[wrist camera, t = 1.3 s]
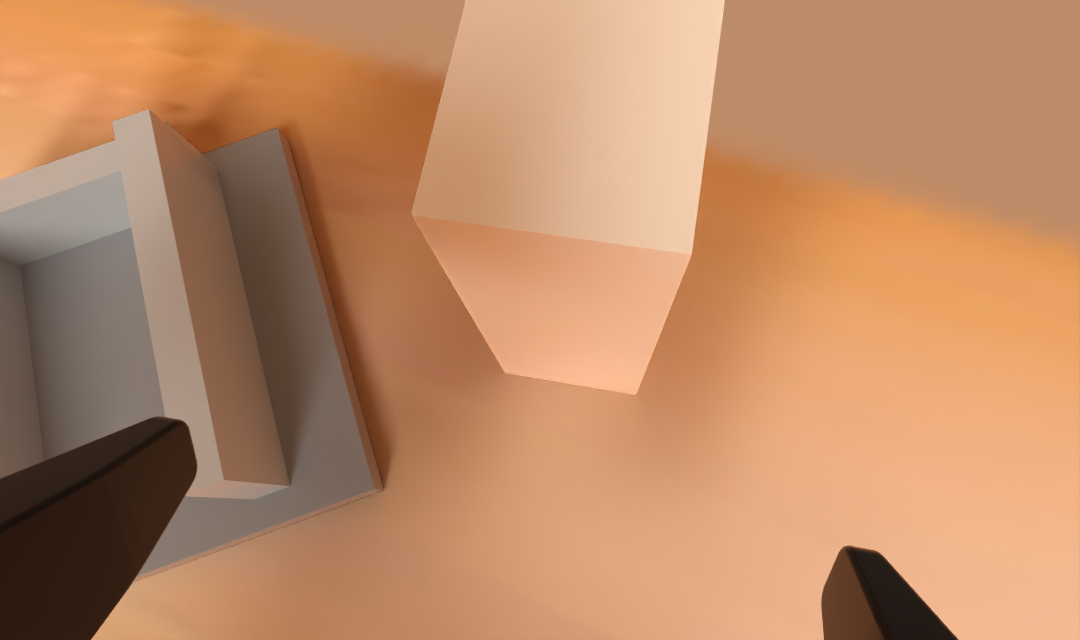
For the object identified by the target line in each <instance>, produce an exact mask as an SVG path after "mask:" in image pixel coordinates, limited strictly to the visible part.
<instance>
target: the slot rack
mask: <svg viewBox="0 0 1080 640" xmlns="http://www.w3.org/2000/svg"><path fill="white" fill-rule="evenodd" d="M112 125H113V130H114V136H115V140H114V141H111V142H108V143H106V144H103V145H100V146H97V147H94V148H91V149H88V150H85V151H82V152H80V153H77V154H74V155H71V156H68V157H65V158H62V159H59V160H56V161H53V162H51V163H48V164H45V165H42V166H39V167H36V168H33V169H30V170H27V171H25V172H22V173H19V174H16V175H13V176H10V177H7V178H4V179H1V180H0V478H3V477H5V476H8V475H10V474H13V473H15V472H17V471H20V470H22V469H25V468H27V467H30V466H32V465H35V464H37V463H40V462H42V461H45V460H47V459H50V458H52V457H55V456H57V455H60V454H62V453H65V452H67V451H70V450H72V449H75V448H77V447H79V446H82V445H84V444H87V443H89V442H92V441H94V440H97V439H99V438H102V437H104V436H107V435H109V434H112V433H114V432H117V431H119V430H122V429H124V428H127V427H129V426H132V425H134V424H137V423H139V422H141V421H144V420H146V419H149V418H152V417H156V416H162V417H168V418H173V419H179V420H182V421H184V422H185V423H186V424H187V425H188V427H189V429H190V433H191V438H192V442H193V446H194V451H195V455H196V459H197V473H196V477H195V479H194V481H193V483H192V485H191V487H190V489H189V490H188V492H187V494H186V495H185V497H184V499H183V500H182V502H181V504H180V505H179V507H178V509H177V510H176V512H175V514H174V516H173V517H172V519H171V521H170V522H169V524H168V526H167V527H166V529H165V531H164V532H163V534H162V536H161V537H160V539H159V541H158V543H157V544H156V546H155V548H154V549H153V551H152V553H151V554H150V556H149V558H148V559H147V561H146V563H145V564H144V566H143V567H142V569H141V570H140V572H139V574H138V575H137V577H136V578H135V580H134V581H133V582H135V581H138V580H140V579H143V578H146V577H149V576H151V575H154V574H157V573H159V572H162V571H165V570H168V569H170V568H173V567H176V566H179V565H181V564H184V563H187V562H189V561H192V560H195V559H198V558H200V557H203V556H206V555H208V554H211V553H214V552H217V551H219V550H222V549H225V548H228V547H230V546H233V545H236V544H238V543H241V542H244V541H247V540H249V539H252V538H255V537H257V536H260V535H263V534H266V533H268V532H271V531H274V530H276V529H279V528H282V527H285V526H287V525H290V524H293V523H296V522H298V521H301V520H304V519H306V518H309V517H312V516H315V515H317V514H320V513H323V512H325V511H328V510H331V509H334V508H336V507H339V506H342V505H345V504H347V503H350V502H353V501H355V500H358V499H361V498H364V497H366V496H369V495H372V494H374V493H377V492H380V491H383V490H384V489H383V485H382V481H381V478H380V474H379V470H378V467H377V463H376V459H375V456H374V452H373V448H372V445H371V441H370V437H369V434H368V430H367V426H366V423H365V419H364V415H363V412H362V408H361V404H360V401H359V397H358V394H357V390H356V386H355V383H354V379H353V375H352V372H351V368H350V364H349V361H348V357H347V353H346V350H345V346H344V342H343V339H342V335H341V331H340V328H339V324H338V320H337V317H336V313H335V309H334V306H333V302H332V298H331V295H330V291H329V287H328V284H327V280H326V277H325V273H324V269H323V266H322V262H321V258H320V255H319V251H318V247H317V244H316V240H315V236H314V233H313V229H312V225H311V222H310V218H309V214H308V211H307V207H306V203H305V200H304V196H303V192H302V189H301V185H300V181H299V178H298V174H297V170H296V167H295V163H294V159H293V156H292V152H291V149H290V145H289V142H288V141H287V139H286V138H285V137H284V136H283V134H282V133H281V132H280V131H279V129H278V128H275V129H272V130H269V131H267V132H264V133H261V134H258V135H255V136H252V137H249V138H246V139H244V140H241V141H238V142H235V143H232V144H229V145H226V146H223V147H221V148H218V149H215V150H212V151H209V152H206V153H203V154H201V153H200V152H199V151H198V150H197V149H196V148H195V147H193V146H192V145H191V144H190V143H189V142H188V141H187V140H186V139H185V138H184V137H183V136H182V135H181V134H179V133H178V132H177V131H176V130H175V129H174V128H173V127H172V126H171V125H170V124H169V123H168V122H166V123H163V122H162V121H161V120H160V119H159V118H158V117H157V116H156V115H155V114H154V113H152V112H151V111H150V110H149V109H148V110H145V111H142V112H139V113H136V114H133V115H130V116H128V117H125V118H122V119H119V120H116V121H113V122H112Z"/></svg>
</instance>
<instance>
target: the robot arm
mask: <svg viewBox="0 0 1080 640" xmlns="http://www.w3.org/2000/svg"><path fill="white" fill-rule="evenodd" d="M196 473H197V459H196V455H195V451H194V446H193V442H192V438H191V433H190V429H189V427H188V425H187V424H186V423H185V422H184V421H182V420H179V419H173V418H168V417H162V416H156V417H152V418H149V419H146V420H144V421H141V422H139V423H137V424H134V425H132V426H129V427H127V428H124V429H122V430H119V431H117V432H114V433H112V434H109V435H107V436H104V437H102V438H99V439H97V440H94V441H92V442H89V443H87V444H84V445H82V446H79V447H77V448H75V449H72V450H70V451H67V452H65V453H62V454H60V455H57V456H55V457H52V458H50V459H47V460H45V461H42V462H40V463H37V464H35V465H32V466H30V467H27V468H25V469H22V470H20V471H17V472H15V473H13V474H10V475H8V476H5V477H3V478H0V640H91V639H92V638H93V636H94V635H95V634H96V632H97V631H98V630H99V628H100V627H101V625H102V624H103V623H104V621H105V620H106V619H107V617H108V616H109V614H110V613H111V612H112V610H113V609H114V608H115V606H116V605H117V604H118V602H119V601H120V599H121V598H122V597H123V595H124V594H125V593H126V591H127V590H128V588H129V587H130V585H131V584H132V583H133V581H134V580H135V578H136V577H137V575H138V574H139V572H140V570H141V569H142V567H143V566H144V564H145V563H146V561H147V559H148V558H149V556H150V554H151V553H152V551H153V549H154V548H155V546H156V544H157V543H158V541H159V539H160V537H161V536H162V534H163V532H164V531H165V529H166V527H167V526H168V524H169V522H170V521H171V519H172V517H173V516H174V514H175V512H176V510H177V509H178V507H179V505H180V504H181V502H182V500H183V499H184V497H185V495H186V494H187V492H188V490H189V489H190V487H191V485H192V483H193V481H194V479H195V477H196ZM821 605H822V619H823V632H824V640H958V638H957V637H956V636H955V635H954V634H953V633H952V632H951V631H950V630H949V628H948V627H947V626H946V625H945V624H944V623H943V622H942V621H941V620H940V618H939V617H938V616H937V615H936V614H935V613H934V612H933V611H932V610H931V608H930V607H929V606H928V605H927V604H926V603H925V602H924V601H923V600H922V598H921V597H920V596H919V595H918V594H917V593H916V592H915V591H914V590H913V588H912V587H911V586H910V585H909V584H908V583H907V582H906V581H905V580H904V578H903V577H902V576H901V575H900V574H899V573H898V572H897V571H896V570H895V569H894V567H893V566H892V565H891V564H890V563H889V562H888V561H887V560H886V559H885V557H884V556H883V555H881V554H880V553H879V552H877V551H874V550H870V549H865V548H859V547H854V546H845V547H843V548H842V549H841V550H840V552H839V553H838V556H837V558H836V560H835V562H834V565H833V567H832V569H831V572H830V574H829V576H828V579H827V581H826V583H825V586H824V588H823V593H822V603H821Z"/></svg>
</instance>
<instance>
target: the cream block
mask: <svg viewBox="0 0 1080 640" xmlns="http://www.w3.org/2000/svg"><path fill="white" fill-rule="evenodd" d="M724 2H725V0H466V2H465V6H464V9H463V13H462V17H461V21H460V25H459V29H458V33H457V37H456V40H455V44H454V48H453V52H452V56H451V60H450V64H449V68H448V72H447V75H446V79H445V83H444V87H443V91H442V95H441V99H440V103H439V107H438V110H437V114H436V118H435V122H434V126H433V130H432V134H431V138H430V142H429V146H428V149H427V153H426V157H425V161H424V165H423V169H422V173H421V177H420V181H419V184H418V188H417V192H416V196H415V200H414V204H413V208H412V212H411V216H412V218H413V220H414V221H415V223H416V225H417V226H418V228H419V230H420V231H421V233H422V235H423V236H424V238H425V240H426V241H427V243H428V245H429V246H430V248H431V250H432V252H433V253H434V255H435V257H436V258H437V260H438V262H439V263H440V265H441V267H442V268H443V270H444V272H445V273H446V275H447V277H448V278H449V280H450V282H451V283H452V285H453V287H454V288H455V290H456V292H457V293H458V295H459V297H460V298H461V300H462V302H463V303H464V305H465V307H466V309H467V310H468V312H469V314H470V315H471V317H472V319H473V320H474V322H475V324H476V325H477V327H478V329H479V330H480V332H481V334H482V335H483V337H484V339H485V340H486V342H487V344H488V345H489V347H490V349H491V350H492V352H493V354H494V355H495V357H496V359H497V360H498V362H499V364H500V366H501V367H502V369H503V371H504V372H505V373H507V374H513V375H519V376H525V377H531V378H537V379H543V380H549V381H555V382H561V383H567V384H573V385H579V386H585V387H591V388H597V389H603V390H609V391H614V392H620V393H626V394H632V395H636V394H637V392H638V389H639V387H640V384H641V382H642V379H643V377H644V374H645V372H646V369H647V366H648V364H649V361H650V359H651V356H652V354H653V351H654V349H655V346H656V344H657V341H658V339H659V336H660V334H661V331H662V329H663V326H664V324H665V321H666V319H667V316H668V313H669V311H670V308H671V306H672V303H673V301H674V298H675V296H676V293H677V291H678V288H679V286H680V283H681V281H682V278H683V276H684V273H685V271H686V268H687V265H688V263H689V260H690V258H691V255H692V249H693V242H694V234H695V226H696V219H697V211H698V203H699V195H700V188H701V180H702V172H703V165H704V157H705V149H706V142H707V134H708V126H709V118H710V111H711V103H712V95H713V87H714V79H715V71H716V65H717V56H718V49H719V41H720V34H721V26H722V18H723V10H724Z"/></svg>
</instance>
